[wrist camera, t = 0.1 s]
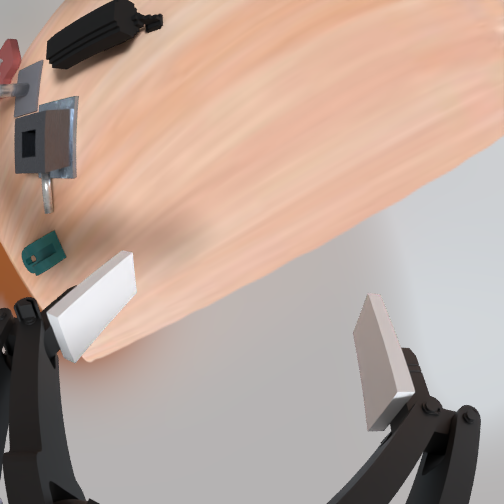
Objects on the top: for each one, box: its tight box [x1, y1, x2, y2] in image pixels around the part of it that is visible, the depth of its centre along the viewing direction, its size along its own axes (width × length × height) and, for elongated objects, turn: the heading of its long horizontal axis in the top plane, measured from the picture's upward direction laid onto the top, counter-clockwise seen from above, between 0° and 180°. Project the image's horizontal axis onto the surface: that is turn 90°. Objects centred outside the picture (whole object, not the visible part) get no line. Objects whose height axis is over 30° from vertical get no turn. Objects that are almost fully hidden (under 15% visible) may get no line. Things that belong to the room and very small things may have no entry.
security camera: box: [46, 0, 163, 69], centre depth 28 cm, size 7×18×10 cm, turn 95°
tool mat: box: [14, 60, 43, 118], centre depth 37 cm, size 12×10×1 cm
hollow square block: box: [15, 96, 79, 214], centre depth 39 cm, size 22×12×8 cm, turn 174°
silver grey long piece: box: [0, 83, 30, 98], centre depth 30 cm, size 7×3×14 cm, turn 174°
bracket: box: [22, 230, 66, 276], centre depth 51 cm, size 18×7×8 cm, turn 109°
